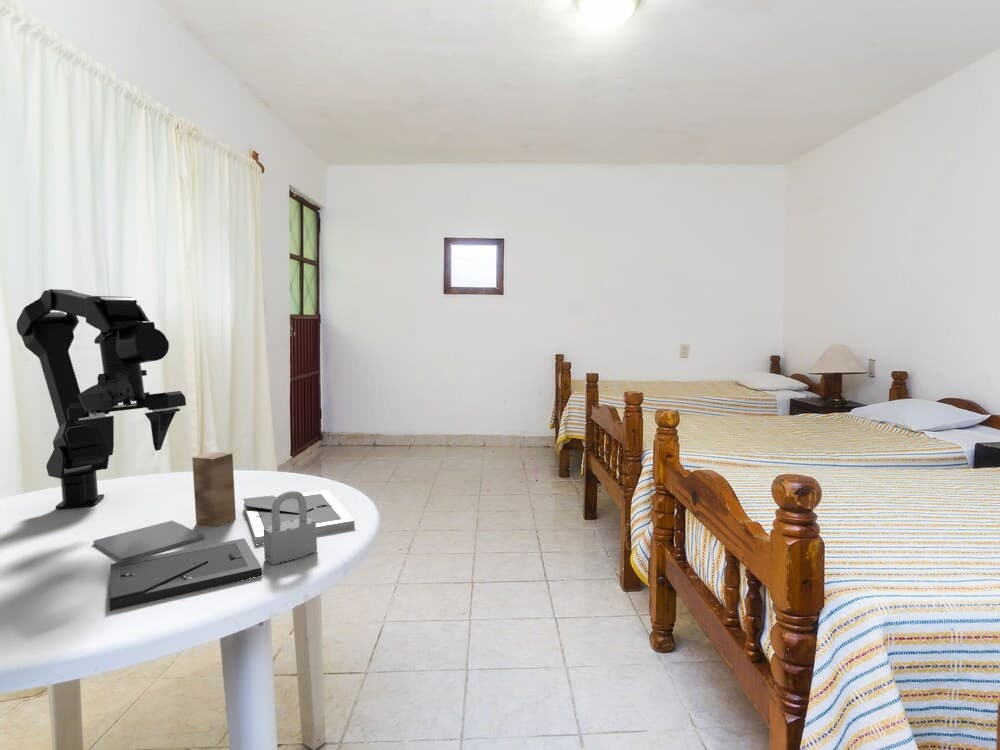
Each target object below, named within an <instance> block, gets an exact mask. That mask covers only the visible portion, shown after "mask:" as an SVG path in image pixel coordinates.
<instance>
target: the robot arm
mask: <svg viewBox="0 0 1000 750" xmlns="http://www.w3.org/2000/svg"><path fill="white" fill-rule="evenodd" d="M52 311H53V312H52ZM54 311H55V312H54ZM78 317H81V318H85V322H86V323H87V324H88V325H90V326H92V327H93V328H95V329H97V330H99V331H100V333H99V334H98V335H97V336H96V337H94V338H95V339H94V340H93V341H94V344H95V345H96V344H97V345H98V344H99V349H100V350H99V351H100V357H101V363H102V364H101V365H102V371H103V373H98V376H97V384H94V385H92V386H90V387H89V388H87V389H85V390H82V392H81V389H80V387H79V383H78V380H77V376H76V373H75V370H74V366H73V362H72V360H71V355H70V351H69V349H70V348H71V345H72V343H73V342H74V339H75V334H74V331H75V330H76V327H77V326H78V325H79V322H80V320H79V318H78ZM16 331H17V333H18V334H19V335H20V337H21V339H22V341H23V344H24V346H25V348H26V349H27V350H29V351H30V352H31V353H32V354H33V355H34V356H36V357H37V358H39V362H40V366H41V368H42V372H43V376H44V380H45V383H46V386H47V390H48V392H49V396H50V400H51V403H52V407H53V410H54V414H55V418H56V420H57V421H56V422H57V424H58V429H57V431H56V434H55V436H54V438H53V441H52V445H53V450H52V452H51V455H50V457H49V459H48V461H47V463H46V465H45V468H46V470H47V475H48V477H52V478H55V479H60V485H61V498H62V500H61V501H60V503H59V502H58V504H56V505H55V509H56V508H57V509H58V508H60V509H69V508H70V507H71V508H80V506H82V507H91V506H95V505H97V504H98V503H99V502H100V501H101V500H102V499H103V498H104V497H105V494H104V493H102V494H99V492H98V491H99V490H98V478H97V471H102V470H107V469H108V465H109V460H110V456H112V455H113V454H114V448H115V447H114V445H115V441H114V440H115V439H114V438H115V437H114V436H115V435H114V434H115V433H114V432H115V431H114V430H115V428H114V427H115V426H114V424H115V421H114V420H115V419H114V418H115V416H114V415H109V413H111V412H119V411H120V412H121V411H130V410H131V411H132V410H139V409H147V410H148V411H150V412H145V413H144V415H145V416H146V418H147V419H148V420H149V423H150V428H151V430H150V431H151V436H152V437H151V438H152V443H153V447H154V450H155V451H160V450H161V449H162V447H163V445H164V441H165V439H166V435H167V433H168V430H169V428H170V426H171V423H172V421H173V419H174V417H175V414H176V413H177V412H180V411H181V409H180V407H184V406H187V401H186V396H185V395H184V394H183V392H182V391H181V390H176V391H175V390H174V391H168V392H161V393H160V392H159V393H157V392H156V393H150V392H147V391H146V392H145V386H144V380H143V376H145V377H146V376H148V373H147V369H142V365H141V364H145V363H150V362H156V361H159V360H162V359H163V358H164V357H166V356H167V354H168V352H169V348H170V343H169V340H168V339H167V337H166V335H165V334H164V333H163V332H162V330H159V329H157V328H156V326H155V322H154V321H151V320H150V319H149V318H148V316H147V315H146V313H145V312H144V309H143V308H142V307H141V305H140V304H139V303H138V300H136V298H135V297H133V296H119V295H118V296H115V295H114V296H112V295H111V296H110V295H109V296H108V295H90V294H85V293H81V292H77V291H74V290H72V289H57V288H55V289H54V288H50V289H46V290H44V291H42V293H41V296H40V297H39V298H38V299H36V300H34V301H33V302H31V303H29V304H28V305H26V306H24V308H23V309H22V311H21V312H20V314H19V317H18V318H17V321H16ZM132 402H133V403H132ZM134 402H135V403H134ZM119 404H120V405H119ZM106 415H107V416H106ZM58 510H59V509H58Z"/></svg>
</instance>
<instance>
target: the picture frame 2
mask: <svg viewBox="0 0 1000 750" xmlns="http://www.w3.org/2000/svg"><path fill="white" fill-rule="evenodd" d="M302 494H303V495H304V497H305V499H306V509H307V517H308V518H310V519H312V520H314V521H316V534H318V535H321V534H320V533H323V534H328V533H327V532H329V533H334V532H333V531H335V532H340V531H339V530H341V531H345V530H352V529H355V519H354V518H353V517H352V516H351V515H350V514H349V513H348V511H347V510H346V509H345V508H344V507H343V505H342V504H341V503H340V502H339V501H338V500H337V499H336V498H335V497H334V496H333V494H332V493H331V492H330V490H321V491H315V492H309V493H308V492H307V493H302ZM277 497H278V496H275V495H264V496H256V497H246V498H243V509H244V513H245V515H246V520H247V522H248V525H249V528H250V531H251V534H252V537H253V541H254V544H255V545H256V544H260V545H263V544H262V543H264V536H263V534H264V533H263V529H264V528H265V527H269V526H272V504H273V502H274V500H275V499H276V498H277ZM296 519H299V504H298V501H297V499H294V498H292V499H287V500H285V501H283V502H282V503H281V505H280V523H282V522H286V521H290V520H296Z"/></svg>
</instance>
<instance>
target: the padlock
mask: <svg viewBox="0 0 1000 750" xmlns="http://www.w3.org/2000/svg"><path fill="white" fill-rule="evenodd" d="M303 494H304V493H301V492H300V491H297V490H296V491H295V490H291V491H287V492H286V491H285V492H283V493H281V494H279V495H277V496H276V497H277V498H276V499H275V500H274V502H273V504H272V526H269V527H265V528H264V529H263V533H264V534H263V536H264V544H263V551H264V552H263V555H264V560H265V561H267V562H268V563H269V564H271V565H274V564H275V565H277V564H281V563H284V561H286V562H290V561H289V560H291V561H293V560H292V559H294V560H298V559H301V558H303V557H305V556H309V555H311V554H314V552H315V553H316V552H317V551H318V545H317V544H318V543H317V542H318V541H317V535H316V521H314V520H312V519H310V518H308V517H307V509H306V499H305V497H304V495H303ZM292 498H294V499H297V501H298V504H299V519H296V520H290V521H286V522H282V523H280V505H281V503H282V502H283V501H285V500H287V499H292ZM300 557H301V558H300ZM297 558H298V559H297ZM280 562H281V563H280ZM276 563H277V564H276Z"/></svg>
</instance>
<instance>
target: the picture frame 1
mask: <svg viewBox="0 0 1000 750" xmlns="http://www.w3.org/2000/svg"><path fill="white" fill-rule="evenodd" d="M261 575H262V576H263V568H262V566H261V564H260V563H259V560H258V559H257V558H256V556H255V554H254V552H253V551H252V549H251V547H250V545H249V544H248V542H247V541H246V538H244V537H243V538H238V539H234V540H228V541H227V540H226V541H223V542H218V543H212V544H207V545H202V546H201V545H200V546H196V547H191V548H187V549H186V548H185V549H182V550H177V551H176V550H175V551H171V552H166V553H161V554H156V555H148V556H144V557H140V558H137V559H133V560H128V561H123V562H120V561H118V562H113V563H111V564H110V575H109V594H108V595H109V599H108V603H109V605H108V606H109V611H110V612H112V611H115V610H121V609H125V608H129V607H133V606H138V605H143V604H146V603H152V602H155V601H156V602H157V601H160V600H164V599H169V598H172V597H178V596H182V595H186V594H190V593H196V592H198V591H203V590H209V589H213V588H217V586H218V587H221V586H220V585H222V586H225V584H226V585H230V583H231V584H234V583H233V582H235V583H239V582H238V581H240V582H242V581H241V580H244V581H247V580H246V579H248V580H250V579H249V578H253V577H257V578H259V577H258V576H261ZM253 579H254V578H253ZM212 587H213V588H212ZM208 588H209V589H208Z"/></svg>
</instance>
